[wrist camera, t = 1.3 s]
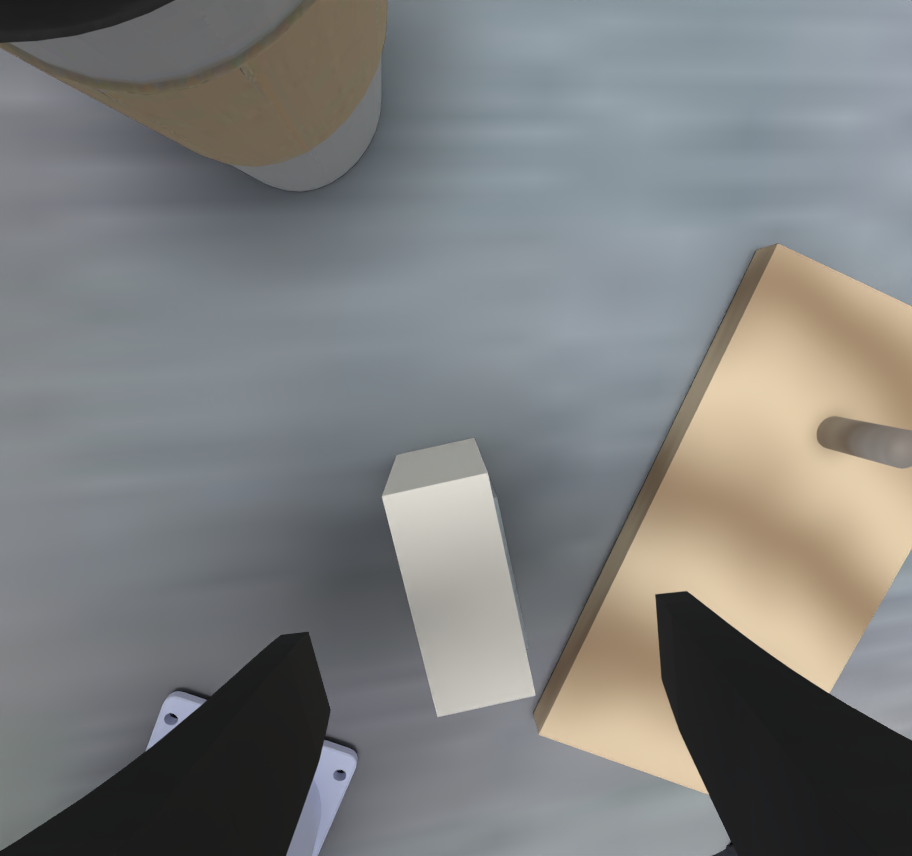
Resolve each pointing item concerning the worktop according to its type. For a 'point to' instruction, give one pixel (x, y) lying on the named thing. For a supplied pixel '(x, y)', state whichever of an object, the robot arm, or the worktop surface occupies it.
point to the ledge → (755, 508)
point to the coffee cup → (222, 74)
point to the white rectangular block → (458, 577)
